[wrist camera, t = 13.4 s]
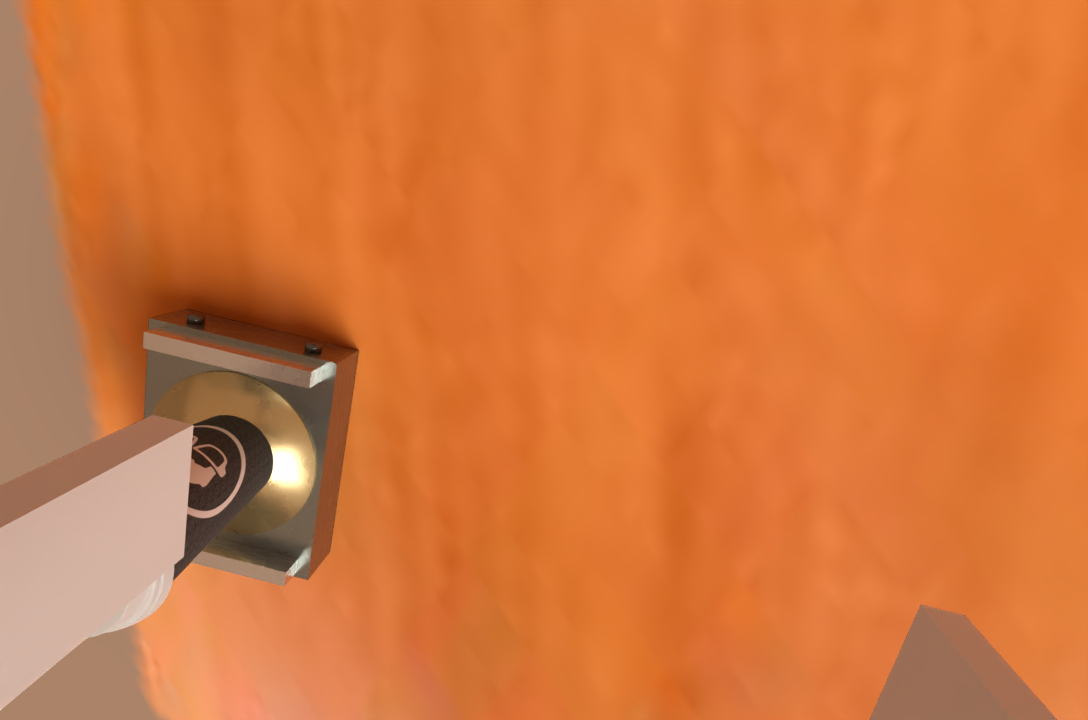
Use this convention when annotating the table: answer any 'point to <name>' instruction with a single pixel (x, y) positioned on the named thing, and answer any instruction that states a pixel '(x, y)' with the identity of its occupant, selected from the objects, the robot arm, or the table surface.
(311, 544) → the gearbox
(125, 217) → the table surface
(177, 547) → the robot arm
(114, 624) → the coffee cup
